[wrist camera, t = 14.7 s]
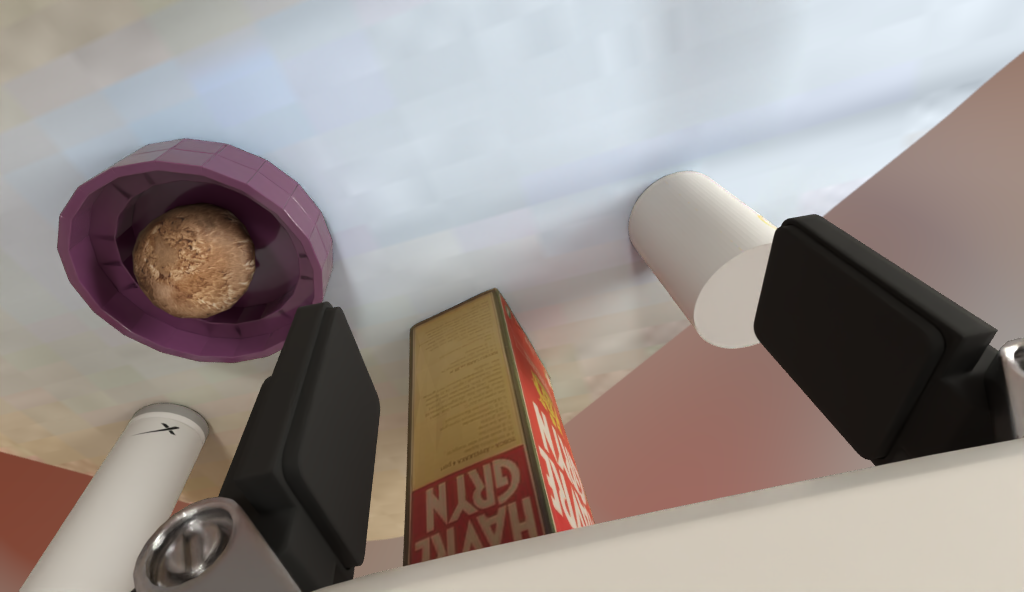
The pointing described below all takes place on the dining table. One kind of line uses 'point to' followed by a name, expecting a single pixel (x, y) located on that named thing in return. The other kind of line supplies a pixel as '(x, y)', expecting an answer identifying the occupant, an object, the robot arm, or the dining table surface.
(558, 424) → the food packaging
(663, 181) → the white cylinder
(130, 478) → the travel mug
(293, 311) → the bowl
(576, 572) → the robot arm
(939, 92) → the dining table surface
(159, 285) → the mushroom
